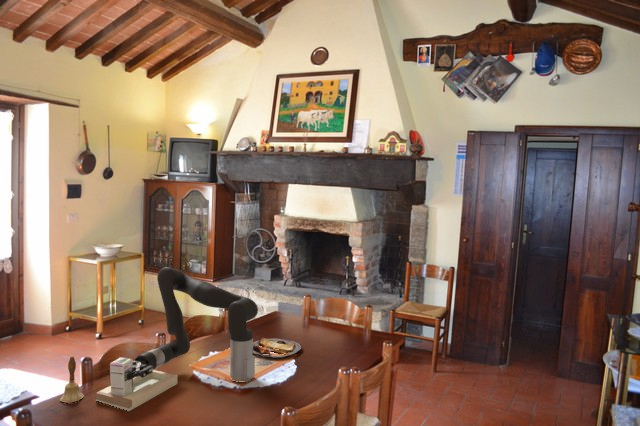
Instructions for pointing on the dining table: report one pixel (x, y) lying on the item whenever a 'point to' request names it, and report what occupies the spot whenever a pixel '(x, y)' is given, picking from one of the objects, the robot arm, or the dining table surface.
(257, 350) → the food plate
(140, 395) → the tray
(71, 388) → the hand bell
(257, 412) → the dining table surface
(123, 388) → the syrup box
